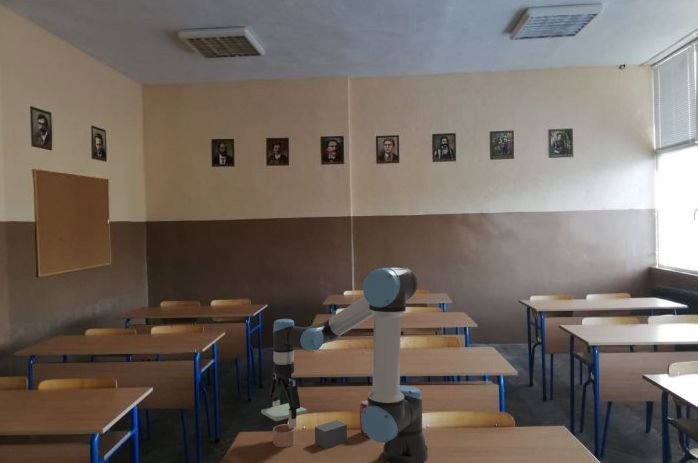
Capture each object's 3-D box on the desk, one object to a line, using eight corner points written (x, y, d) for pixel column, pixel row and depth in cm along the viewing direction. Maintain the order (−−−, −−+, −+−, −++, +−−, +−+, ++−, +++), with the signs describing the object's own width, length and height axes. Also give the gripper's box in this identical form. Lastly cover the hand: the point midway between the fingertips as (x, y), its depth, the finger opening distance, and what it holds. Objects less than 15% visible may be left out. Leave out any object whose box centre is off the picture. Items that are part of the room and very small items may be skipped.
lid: (307, 412, 181) (307, 409, 181) (276, 421, 173) (276, 417, 173) (291, 405, 189) (291, 402, 189) (261, 413, 181) (261, 409, 181)
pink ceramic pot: (300, 442, 180) (300, 429, 180) (280, 449, 175) (280, 435, 175) (288, 435, 186) (288, 422, 186) (268, 441, 181) (268, 428, 181)
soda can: (379, 437, 184) (378, 405, 184) (360, 437, 184) (359, 405, 185) (378, 430, 191) (378, 398, 191) (360, 430, 191) (359, 398, 192)
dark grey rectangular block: (346, 441, 181) (346, 424, 181) (324, 448, 175) (324, 431, 175) (337, 436, 186) (336, 420, 186) (315, 443, 179) (314, 426, 179)
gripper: (310, 366, 174) (310, 429, 174) (276, 354, 192) (277, 411, 192) (292, 370, 170) (292, 435, 169) (259, 357, 188) (259, 416, 187)
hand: (284, 422), depth 181 cm, fingers closed on lid, 10 cm apart
